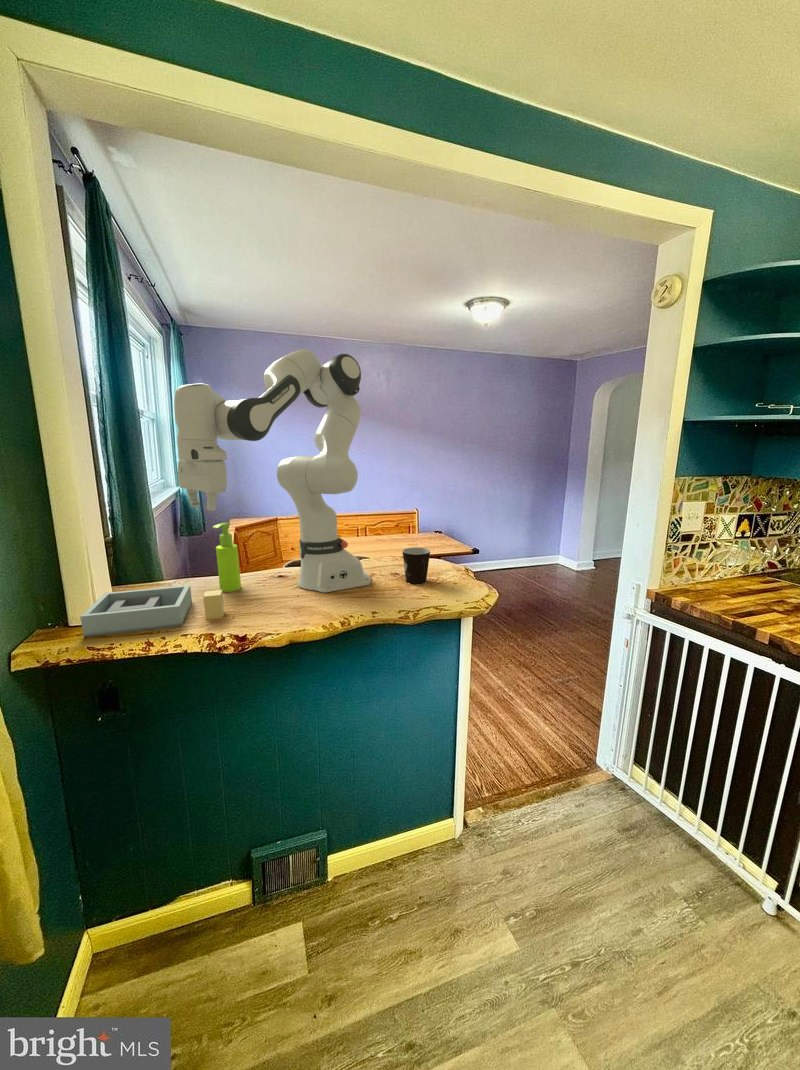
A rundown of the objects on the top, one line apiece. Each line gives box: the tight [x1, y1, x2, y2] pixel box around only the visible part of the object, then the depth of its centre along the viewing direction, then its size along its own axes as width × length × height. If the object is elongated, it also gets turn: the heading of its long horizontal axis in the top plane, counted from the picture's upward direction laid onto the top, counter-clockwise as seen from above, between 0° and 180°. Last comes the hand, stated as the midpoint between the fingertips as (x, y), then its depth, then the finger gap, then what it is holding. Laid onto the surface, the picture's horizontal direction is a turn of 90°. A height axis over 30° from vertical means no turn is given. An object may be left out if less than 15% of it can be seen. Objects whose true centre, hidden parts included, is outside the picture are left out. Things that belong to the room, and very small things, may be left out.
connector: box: [202, 589, 225, 620], centre depth 107 cm, size 4×4×6 cm
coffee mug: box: [402, 546, 431, 585], centre depth 131 cm, size 12×9×10 cm
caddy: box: [80, 584, 193, 638], centre depth 106 cm, size 20×16×5 cm
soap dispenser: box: [212, 522, 242, 593], centre depth 125 cm, size 6×7×20 cm
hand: (202, 508), depth 106 cm, fingers open, 8 cm apart
